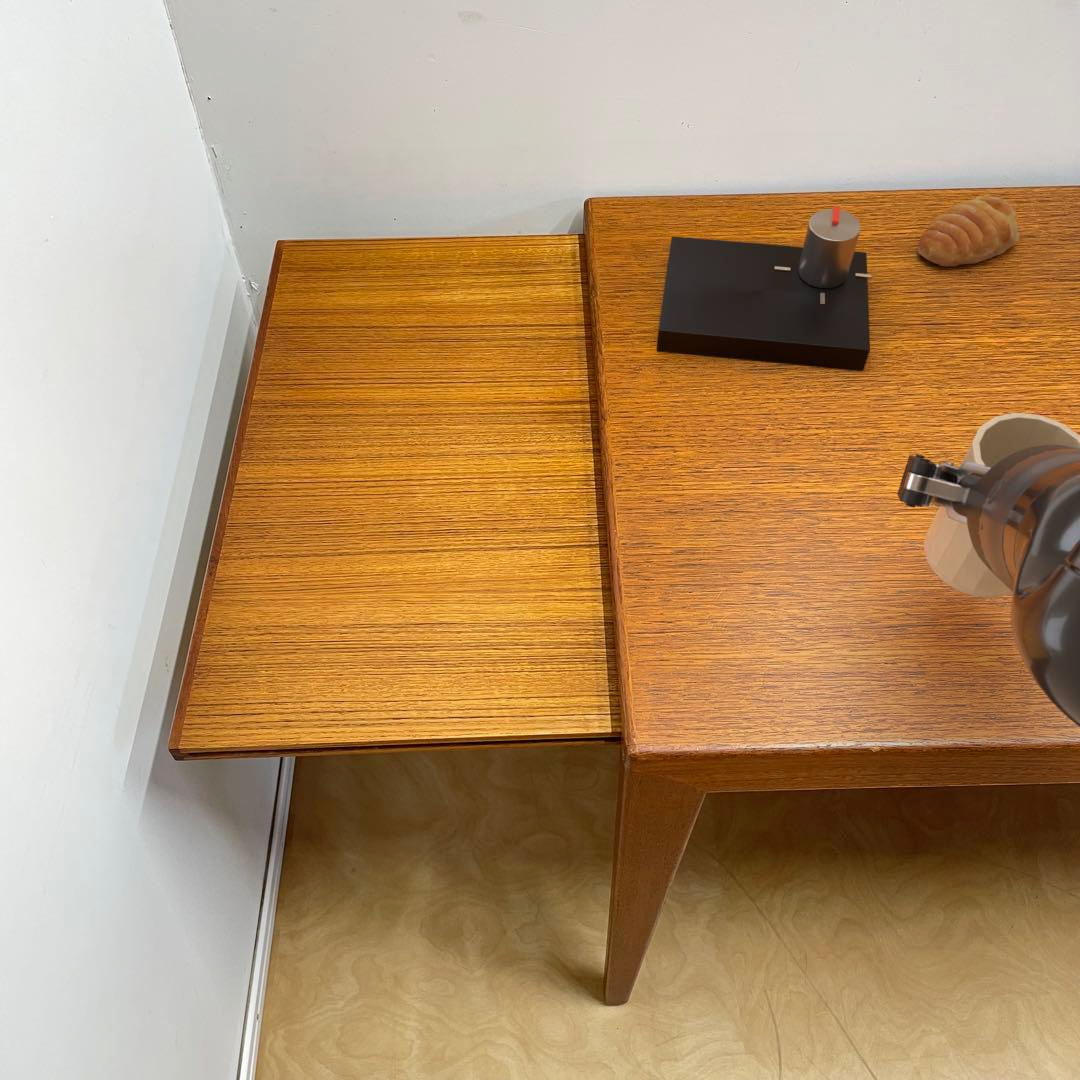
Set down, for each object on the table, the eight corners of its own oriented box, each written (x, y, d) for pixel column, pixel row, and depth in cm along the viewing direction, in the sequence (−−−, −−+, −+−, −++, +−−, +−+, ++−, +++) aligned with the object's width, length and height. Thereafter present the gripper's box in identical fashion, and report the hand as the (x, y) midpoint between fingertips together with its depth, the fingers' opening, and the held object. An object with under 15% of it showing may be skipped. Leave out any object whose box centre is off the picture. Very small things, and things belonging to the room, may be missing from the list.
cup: (1025, 519, 67) (1087, 419, 59) (1036, 604, 63) (1105, 510, 55) (921, 507, 68) (968, 407, 59) (926, 591, 64) (978, 495, 56)
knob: (846, 291, 88) (860, 240, 84) (796, 285, 89) (808, 234, 84) (848, 259, 91) (862, 208, 86) (799, 254, 91) (811, 203, 87)
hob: (863, 268, 94) (870, 245, 92) (866, 371, 86) (874, 348, 84) (670, 252, 96) (672, 229, 94) (656, 351, 88) (658, 328, 86)
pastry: (948, 284, 92) (961, 250, 89) (897, 245, 96) (908, 212, 93) (1020, 248, 95) (1035, 214, 92) (967, 212, 98) (980, 178, 95)
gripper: (887, 561, 49) (871, 522, 65) (1202, 647, 46) (1104, 584, 62) (934, 413, 48) (905, 410, 63) (1263, 491, 44) (1146, 467, 60)
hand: (1003, 496), depth 62 cm, fingers closed on cup, 7 cm apart
